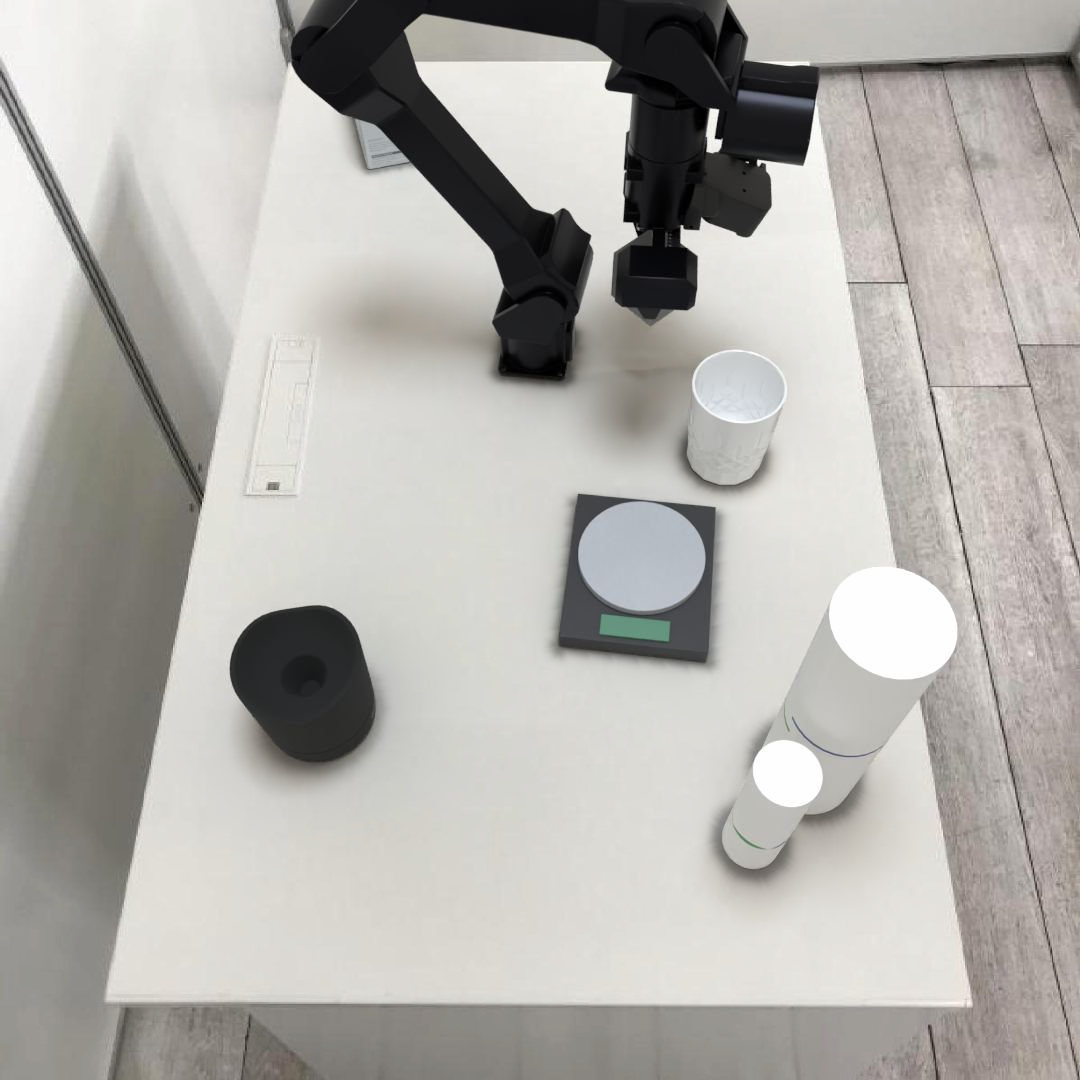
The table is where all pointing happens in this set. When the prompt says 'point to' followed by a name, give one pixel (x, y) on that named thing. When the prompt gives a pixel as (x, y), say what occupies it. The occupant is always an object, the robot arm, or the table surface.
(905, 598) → the cylindrical container
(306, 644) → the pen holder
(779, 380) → the white cup
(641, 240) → the dice cube
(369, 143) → the cosmetics box
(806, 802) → the tube
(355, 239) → the table surface
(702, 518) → the scale
